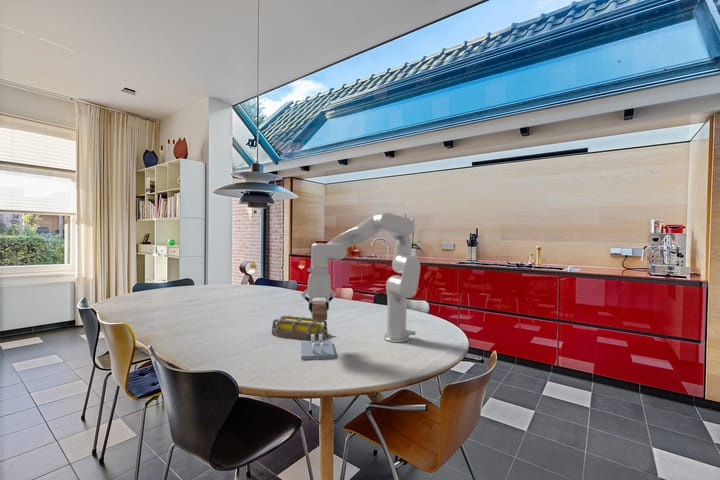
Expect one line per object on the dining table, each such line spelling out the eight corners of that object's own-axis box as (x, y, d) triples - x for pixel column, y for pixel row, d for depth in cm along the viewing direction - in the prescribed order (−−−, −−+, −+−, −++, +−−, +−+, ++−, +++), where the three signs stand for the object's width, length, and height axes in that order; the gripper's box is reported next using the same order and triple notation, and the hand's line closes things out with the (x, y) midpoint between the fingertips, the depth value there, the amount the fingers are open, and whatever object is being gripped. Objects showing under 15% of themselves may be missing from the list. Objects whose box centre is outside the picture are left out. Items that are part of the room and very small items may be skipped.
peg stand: (331, 343, 156) (331, 332, 155) (335, 358, 138) (335, 345, 138) (301, 345, 153) (301, 333, 153) (301, 359, 135) (301, 346, 135)
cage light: (281, 313, 181) (331, 318, 172) (281, 327, 181) (331, 333, 172) (266, 320, 167) (320, 325, 158) (266, 335, 167) (320, 342, 158)
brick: (327, 319, 138) (327, 308, 138) (312, 320, 137) (312, 308, 137) (324, 311, 154) (324, 300, 154) (311, 311, 152) (311, 300, 152)
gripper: (299, 272, 140) (298, 314, 140) (339, 272, 143) (339, 313, 143) (299, 270, 147) (298, 310, 147) (337, 270, 150) (337, 309, 150)
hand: (318, 311), depth 145 cm, fingers closed on brick, 6 cm apart
